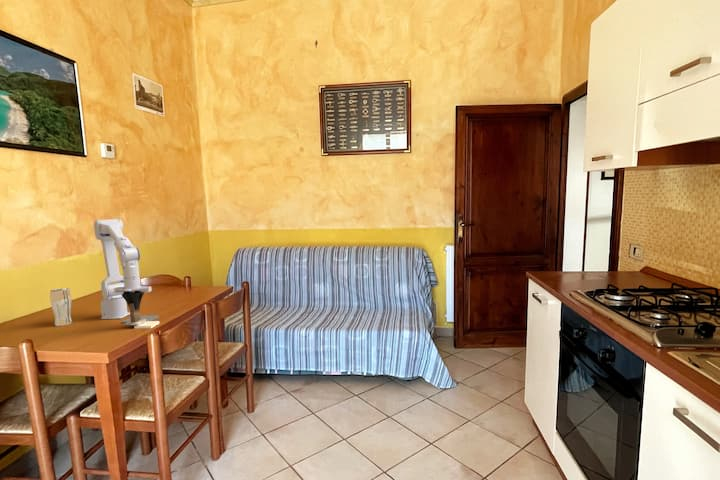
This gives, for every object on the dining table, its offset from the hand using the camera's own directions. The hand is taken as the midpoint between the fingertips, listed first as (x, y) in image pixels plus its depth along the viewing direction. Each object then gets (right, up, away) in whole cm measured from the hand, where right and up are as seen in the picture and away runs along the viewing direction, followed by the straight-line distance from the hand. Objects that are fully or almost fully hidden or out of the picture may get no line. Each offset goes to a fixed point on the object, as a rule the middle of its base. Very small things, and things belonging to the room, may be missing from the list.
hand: (134, 309), depth 156 cm
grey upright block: (0, -6, +1) cm, 6 cm away
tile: (+1, -7, +1) cm, 7 cm away
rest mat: (-3, -6, +9) cm, 11 cm away
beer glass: (-35, -8, +7) cm, 36 cm away
